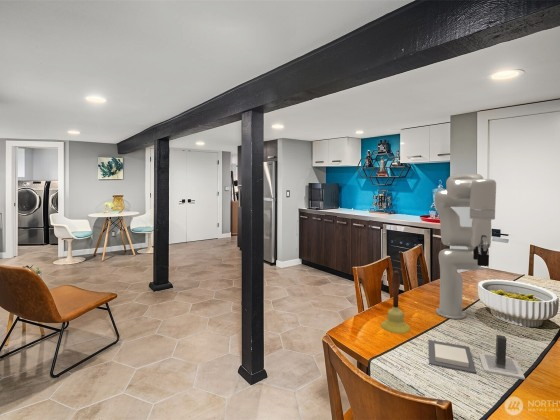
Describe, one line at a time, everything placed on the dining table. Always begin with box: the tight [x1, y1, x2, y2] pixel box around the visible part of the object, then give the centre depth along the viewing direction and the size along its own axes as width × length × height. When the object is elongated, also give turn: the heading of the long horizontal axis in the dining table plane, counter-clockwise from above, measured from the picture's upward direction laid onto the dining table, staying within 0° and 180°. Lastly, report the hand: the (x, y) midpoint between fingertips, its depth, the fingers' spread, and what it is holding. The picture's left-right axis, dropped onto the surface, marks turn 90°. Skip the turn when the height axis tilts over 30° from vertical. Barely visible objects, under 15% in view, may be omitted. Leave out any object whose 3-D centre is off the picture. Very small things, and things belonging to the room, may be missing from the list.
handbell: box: [380, 270, 411, 335], centre depth 136 cm, size 12×12×25 cm
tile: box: [435, 344, 469, 368], centre depth 112 cm, size 2×10×10 cm
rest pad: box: [478, 353, 526, 381], centre depth 106 cm, size 11×11×1 cm
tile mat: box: [427, 339, 477, 375], centre depth 114 cm, size 18×14×1 cm
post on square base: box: [483, 334, 518, 374], centre depth 106 cm, size 8×8×10 cm
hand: (480, 262), depth 111 cm, fingers open, 9 cm apart
